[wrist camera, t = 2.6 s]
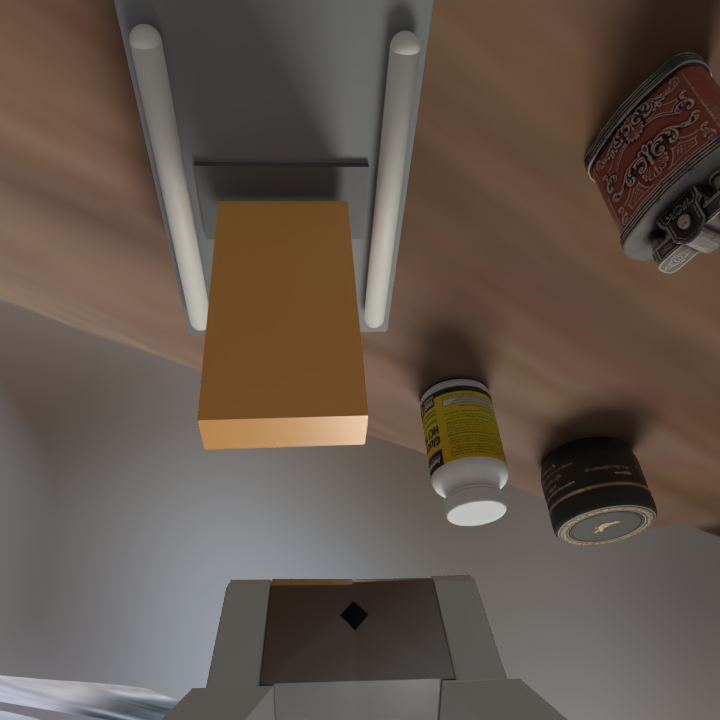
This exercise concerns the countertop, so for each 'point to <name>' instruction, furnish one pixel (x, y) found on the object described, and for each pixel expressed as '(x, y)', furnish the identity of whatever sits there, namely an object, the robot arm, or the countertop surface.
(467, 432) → the pill bottle
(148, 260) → the countertop surface
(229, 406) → the lever
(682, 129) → the lighter
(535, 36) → the countertop surface
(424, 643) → the robot arm
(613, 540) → the jar
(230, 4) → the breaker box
